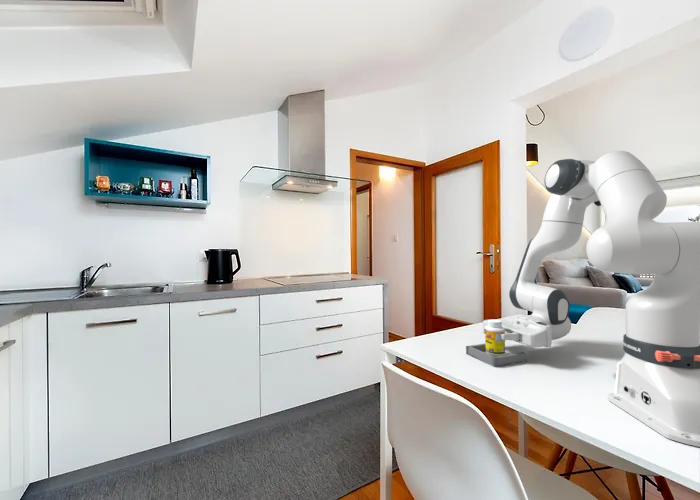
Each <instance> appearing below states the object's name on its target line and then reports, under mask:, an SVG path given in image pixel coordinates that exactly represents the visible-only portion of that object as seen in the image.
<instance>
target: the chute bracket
mask: <svg viewBox="0 0 700 500" xmlns="http://www.w3.org/2000/svg"><path fill="white" fill-rule="evenodd" d="M465 351H466V352H465V355H468V356H470V357H472V358H474V359H477V360H479V361H481V362H483V363H484V364H487V365H490V366H492V367H494V368H498V367H504V366H509V365H514V364H515V365H516V364H520V363H526V362H527V353H526V352H524V351H523V352H518V353H508V352H507V351H505V354H504V355H502V356H494V355H490V354H488V353H487V352H486V348H485V343H479V344H473V345H466V346H465Z"/></svg>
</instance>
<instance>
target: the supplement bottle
mask: <svg viewBox="0 0 700 500" xmlns="http://www.w3.org/2000/svg"><path fill="white" fill-rule="evenodd" d="M487 320H488V326H486V327H485V334H484V335H485V336H484V337H485V338H484V339H485V340H484V341H485V343H484V344H485V348H486V352H487V353H488V354H490V355H494V356H502V355H504V354H505V352H506V340H502V339H500V333H505V329H504V328H503V327H502V321H500V320H501V319H500V320H495V319H493V318H492V319H487Z"/></svg>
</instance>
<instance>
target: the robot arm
mask: <svg viewBox="0 0 700 500" xmlns="http://www.w3.org/2000/svg"><path fill="white" fill-rule="evenodd" d="M543 181H544V188H545V190H547V192H548V193H551V194H550V196H549V198H548V200H547V202H546V206H545V209H544V211H543V215H542V220H541V221H542V222H541V224H540V228H539V230H538V232H537V234H536V235H535V236H534V237H532V238H531V239H530V240H529V242H528V244H527V246H526V248H525V251H524V254H523V257H522V260H521V264H520V266H519V269H518V271H517V274H516V277H515V280H514V281H513V283H512V285H511V287H510V289H509V291H508V292H509V293H508V294H509V296H508V297H509V300H510V302H511V304H512V306H513V307H515V308H516V309H520V310H523V311H529V312H530V313H531V314H527V315H518V316H515V318H514V319H513V320H512V321H508V320H505V319H501V318H500V319H495V320H500V321H502V327H503V328H504V329H505V333H500V339H502V340H505V341H513V342H517V343H519V344H522V345H526V346H528V347H534V348H543V347H544V348H550V347H552V341H555V340H559V339H561V338H564V337H566V336H568V334H569V333H570V332H571V329H572V321H571V319H570V318H569V313H570V301H569V297H568V296H567V294H566V293H565V292H564V290H562V289H559V288H554V287H551V286H545V285H543V284H538V283H536V282H535V280H536V277H537V274H538V272H539V268H540V265H541V263H542V261H543V259H545V258H546V257H547V256H549V255H551V254H555V253H559V252H563V251H566V250H568V249H570V248H572V247H573V246H575V245H576V244H577V243H578V242H579V240H580V238H581V236H582V232H583V228H584V227H583V225H584V220H585V212H586V210H587V208H588V207H589V206H590V205H592V204H594V205H595V206H597V207H601V208H602V209H603V212H604V216H605V222H604V223H603V225H601V226H600V227H598V228H597V229H596V230H595V231H593V232H592V233H591V234H590V236H589V237H588V240H587V241H586V244H585V245H586V246H585V251H586V256H587V259H588V260H589V262H590V264H592V266H594V267H595V269H597V270H598V271H603V272H609V273H613V274H614V273H615V274H621V275H654V277H653V280H652V282H651V283H650V285H648V287H647V288H645V289H644V290H641V291H639V292H636V293H635V294H633V295H631V296H630V297H629V298H628V299H627V301H626V303H625V333H624V334H623V337H622V338H623V339H622V345H623V348H622V349H623V350H622V351H623V352H624V355H623V356H622V358H621V359H620V360H619V361H618V362H617V364H616V370H615V382H614V383H615V384H614V392H611V393H608V396H607V400H608V401H609V402H610V403H612V404H613V405H615V406H617V407H619V408H620V409H622V410H623V411H624V412H626V413H628V414H629V415H631V416H632V417H633V418H635V419H637V420H638V421H640V422H641V423H643V424H644V425H646V426H648V427H649V428H651V429H653V431H655V432H657V433H659V434H660V435H662V436H663V437H665V438H667V439H669V440H673V441H676V442H678V443H682V444H686V445H690V446H694V447H699V448H700V221H683V222H676V221H675V222H659V221H656V220H654V219H655V218H657V217H658V216H659V215H661V214H662V213H663V211H664V210H665V208H666V206H667V202H668V199H667V198H668V197H667V194H666V193H665V191H664V190H663V188H662V187H661V185H660V184H659V182H658V181H657V179H656V177H655V176H654V174H653V173H652V172H651V171H650V169H649V168H648V167H647V166H646V165H645V163H643V162H642V160H640V159H639V158H638V157H636V156H635V155H634V154H632V153H631V152H629V151H625V150H614V151H610V152H608V153H605V154H603V155H601V156H600V157H599V158H597V159H596V160H588V159H587V160H585V159H583V160H582V159H575V158H564V159H560V160H556V161H554V162H553V163H552V164H551V165H550V166H549V167H548V169H547V170H546V173H545V176H544V180H543ZM594 267H593V268H594ZM488 320H489V319H484V320H482V333H483V334H484V335H485V327H486V326H488Z"/></svg>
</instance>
